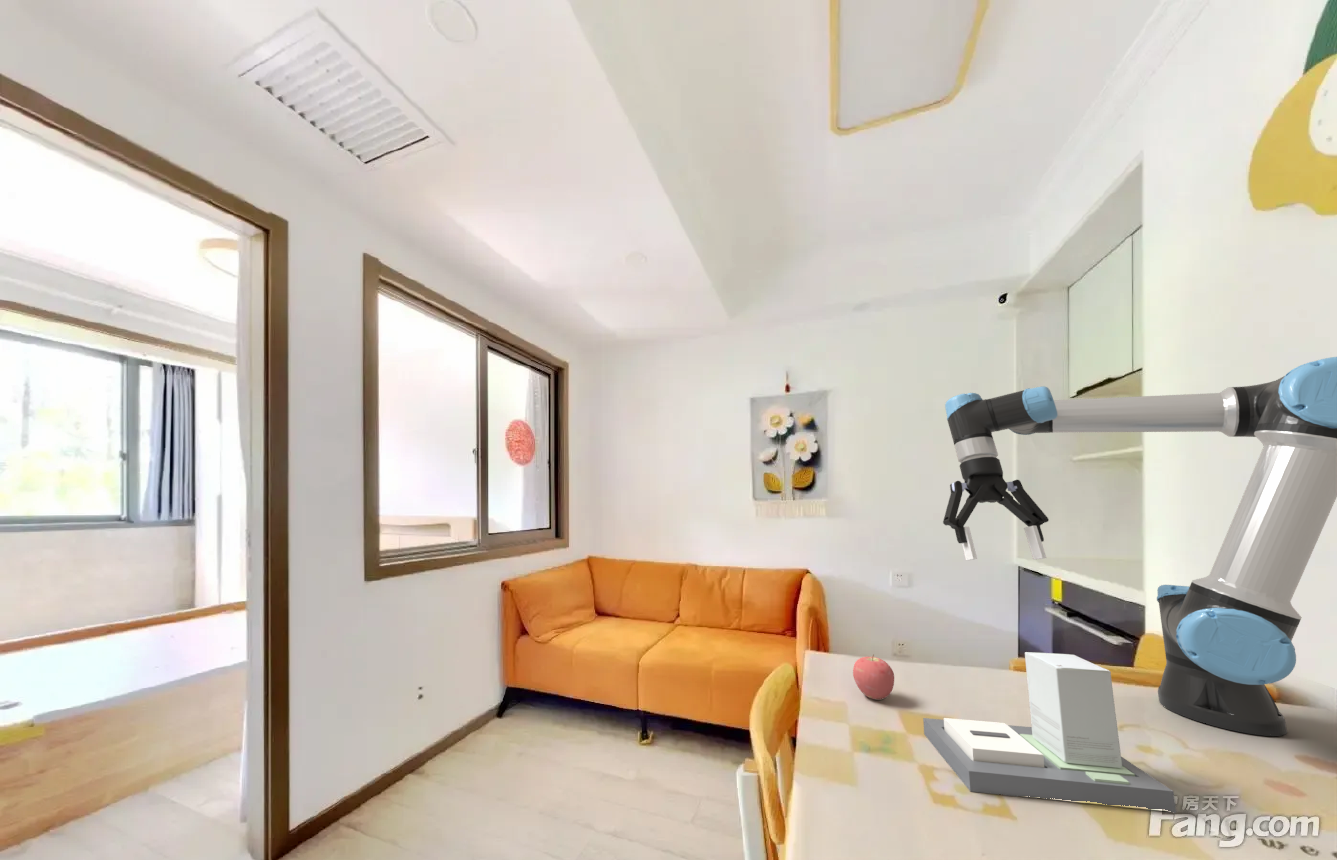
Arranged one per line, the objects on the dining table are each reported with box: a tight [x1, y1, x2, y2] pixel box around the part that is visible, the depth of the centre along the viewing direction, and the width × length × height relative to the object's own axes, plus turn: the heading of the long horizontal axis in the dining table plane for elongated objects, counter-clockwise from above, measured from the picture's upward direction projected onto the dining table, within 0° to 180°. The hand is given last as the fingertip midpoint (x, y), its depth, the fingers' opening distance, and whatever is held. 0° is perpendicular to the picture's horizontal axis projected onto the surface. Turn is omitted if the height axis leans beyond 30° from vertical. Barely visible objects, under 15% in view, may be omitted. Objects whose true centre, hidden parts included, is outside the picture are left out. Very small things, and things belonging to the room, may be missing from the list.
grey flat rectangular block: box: [922, 717, 1177, 814], centre depth 66 cm, size 24×15×4 cm, turn 82°
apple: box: [852, 654, 895, 701], centre depth 89 cm, size 7×7×8 cm
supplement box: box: [1024, 651, 1122, 768], centre depth 67 cm, size 7×7×13 cm
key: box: [1020, 734, 1135, 776], centre depth 65 cm, size 9×9×2 cm
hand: (1005, 559), depth 93 cm, fingers open, 13 cm apart
